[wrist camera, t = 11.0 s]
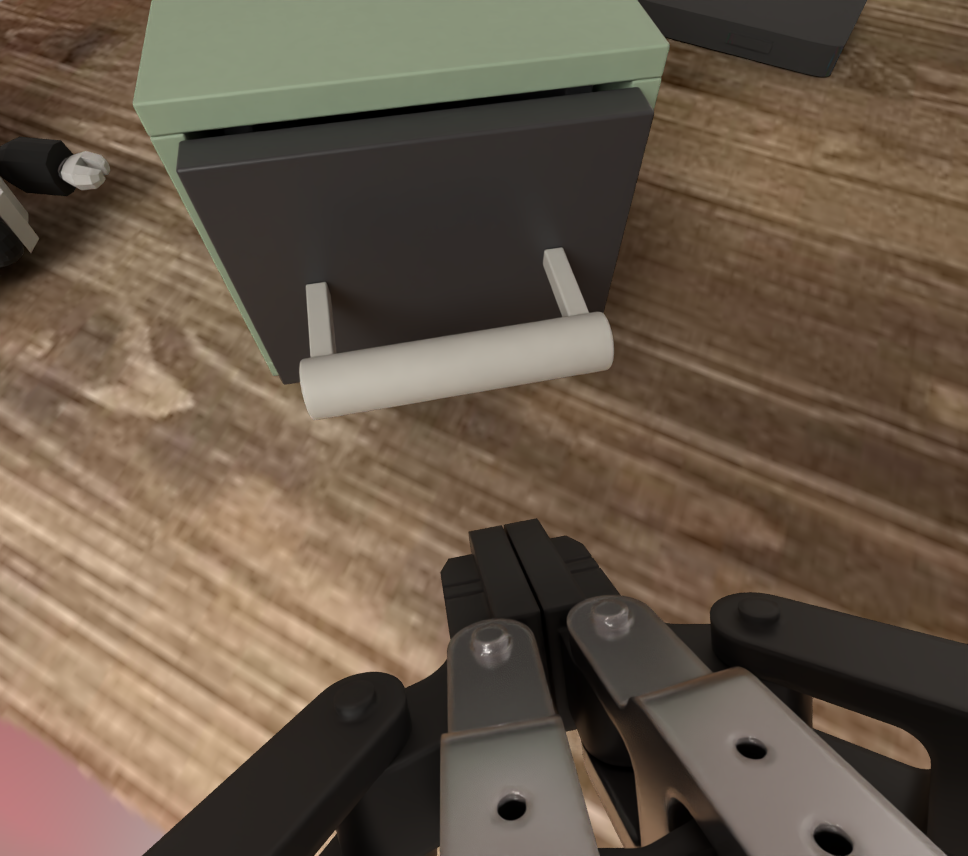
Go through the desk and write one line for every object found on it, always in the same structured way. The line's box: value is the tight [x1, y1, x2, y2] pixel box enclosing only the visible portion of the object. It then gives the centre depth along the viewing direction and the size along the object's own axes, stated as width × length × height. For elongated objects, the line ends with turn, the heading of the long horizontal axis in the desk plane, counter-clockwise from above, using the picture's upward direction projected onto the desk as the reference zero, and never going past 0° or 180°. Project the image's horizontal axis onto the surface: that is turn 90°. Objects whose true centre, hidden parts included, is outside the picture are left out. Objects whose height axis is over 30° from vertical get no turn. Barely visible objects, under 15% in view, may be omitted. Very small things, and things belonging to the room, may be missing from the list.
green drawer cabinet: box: [133, 0, 669, 376], centre depth 22 cm, size 15×13×10 cm
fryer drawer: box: [176, 85, 654, 420], centre depth 20 cm, size 18×11×8 cm, turn 12°
